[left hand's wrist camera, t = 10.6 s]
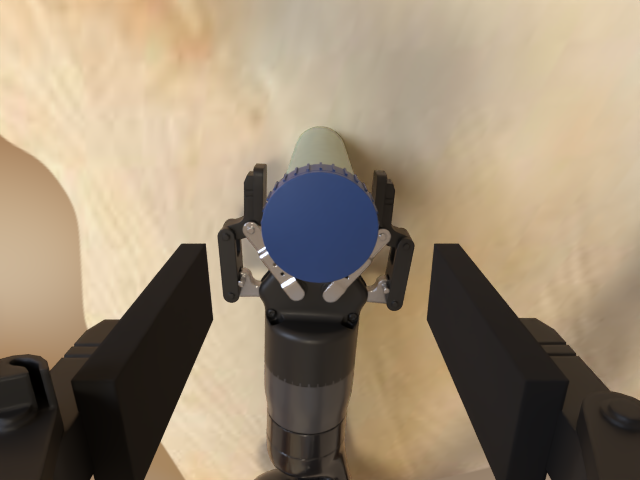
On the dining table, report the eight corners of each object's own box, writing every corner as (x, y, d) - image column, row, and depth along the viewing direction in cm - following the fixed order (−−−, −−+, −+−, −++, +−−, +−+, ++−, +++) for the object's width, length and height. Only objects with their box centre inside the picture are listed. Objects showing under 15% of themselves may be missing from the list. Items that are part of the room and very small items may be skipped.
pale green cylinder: (289, 169, 38) (260, 257, 20) (302, 120, 36) (285, 166, 18) (336, 183, 38) (351, 281, 20) (351, 134, 37) (382, 194, 19)
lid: (252, 252, 21) (247, 267, 19) (279, 147, 19) (276, 154, 18) (355, 279, 22) (358, 297, 20) (390, 180, 20) (397, 190, 18)
